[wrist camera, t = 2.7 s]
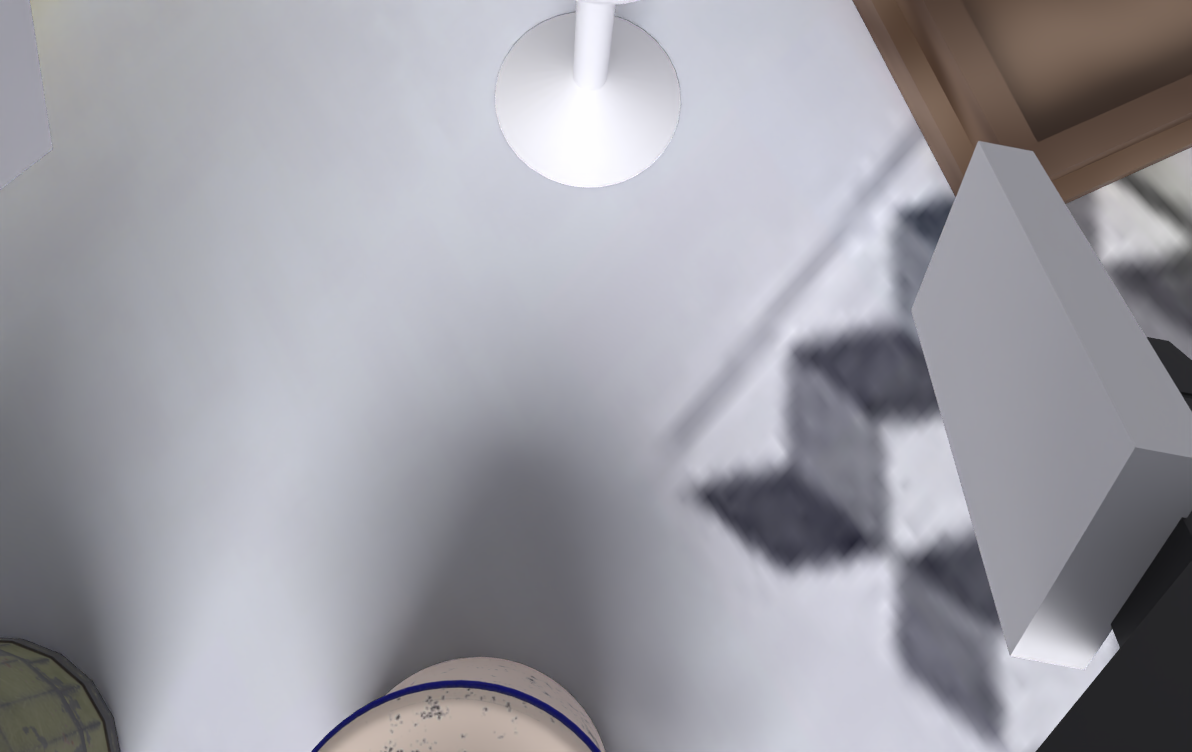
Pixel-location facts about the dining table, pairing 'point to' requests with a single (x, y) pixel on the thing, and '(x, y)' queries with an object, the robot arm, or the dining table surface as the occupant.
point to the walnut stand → (1043, 81)
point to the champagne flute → (588, 97)
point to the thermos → (49, 703)
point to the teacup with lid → (469, 713)
